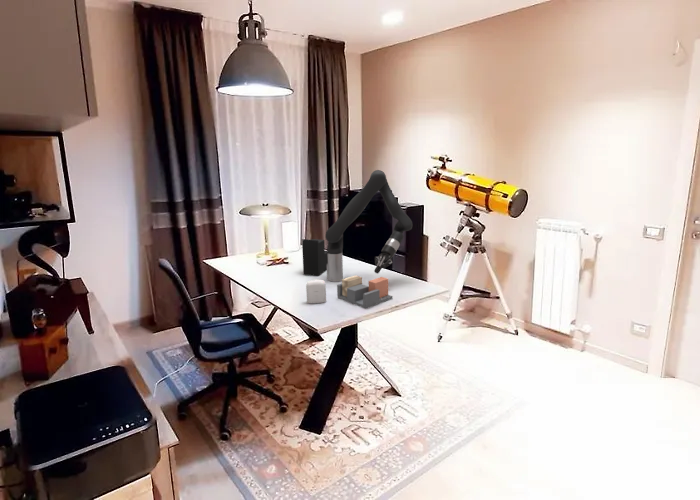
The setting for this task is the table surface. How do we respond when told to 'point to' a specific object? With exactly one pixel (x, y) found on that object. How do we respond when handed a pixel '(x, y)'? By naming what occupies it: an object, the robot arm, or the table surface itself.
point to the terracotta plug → (379, 285)
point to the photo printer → (316, 291)
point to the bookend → (314, 257)
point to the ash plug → (350, 283)
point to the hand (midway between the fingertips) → (376, 272)
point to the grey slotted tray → (362, 296)
